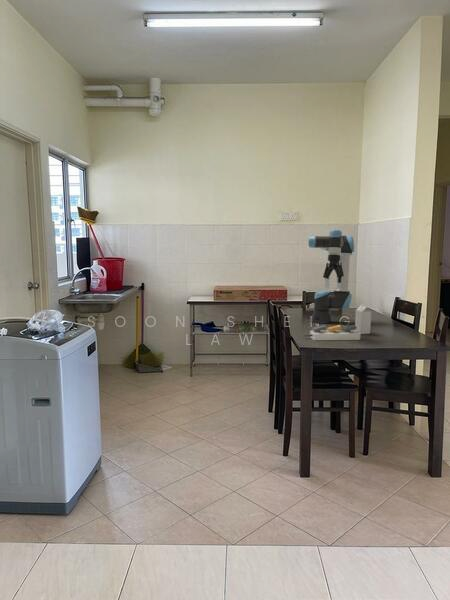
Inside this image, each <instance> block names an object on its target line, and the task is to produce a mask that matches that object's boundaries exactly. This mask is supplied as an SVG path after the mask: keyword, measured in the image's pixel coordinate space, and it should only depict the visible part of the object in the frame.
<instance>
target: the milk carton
mask: <svg viewBox="0 0 450 600" xmlns="http://www.w3.org/2000/svg"><path fill="white" fill-rule="evenodd" d="M354 323H355V324H354V325H355V326H356V328H357V329H354V330H355V331H357V332H359V333H360V335H367V334H368V335H369V334H371V323H372V310H370V309H369V307H368V305H366V304H364V303H361V304H360V305H359V306H358V307H357V309H355V321H354Z"/></svg>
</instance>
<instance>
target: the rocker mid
mask: <svg viewBox="0 0 450 600" xmlns="http://www.w3.org/2000/svg"><path fill="white" fill-rule="evenodd" d="M326 330H327V331H329V332H332V331H336V330H342V325H340V324H337V325H333V326H328V327H327V329H326Z"/></svg>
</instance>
